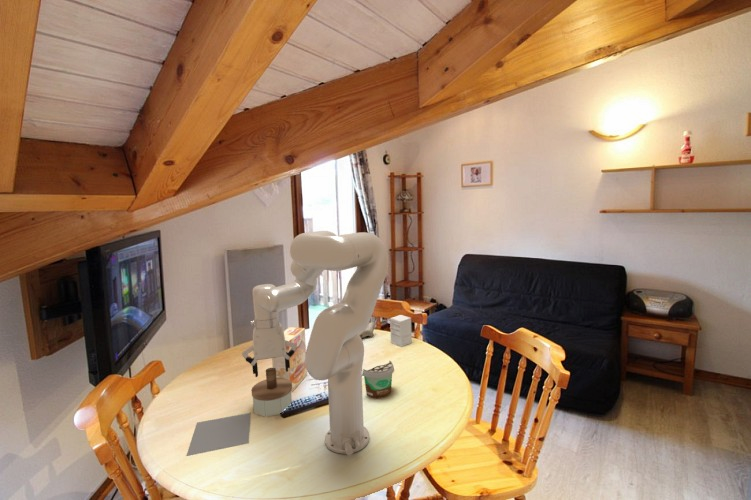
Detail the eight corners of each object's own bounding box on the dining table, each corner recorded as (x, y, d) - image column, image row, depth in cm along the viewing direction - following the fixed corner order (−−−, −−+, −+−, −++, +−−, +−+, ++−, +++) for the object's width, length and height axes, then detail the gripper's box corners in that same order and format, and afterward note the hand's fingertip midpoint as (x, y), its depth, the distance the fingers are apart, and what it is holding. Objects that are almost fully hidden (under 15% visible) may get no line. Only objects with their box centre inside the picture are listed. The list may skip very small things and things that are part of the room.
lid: (293, 396, 117) (292, 375, 116) (251, 403, 113) (249, 382, 112) (290, 378, 129) (289, 358, 128) (252, 384, 125) (250, 364, 124)
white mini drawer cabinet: (401, 339, 179) (400, 314, 177) (412, 343, 173) (411, 317, 172) (390, 343, 174) (389, 317, 173) (401, 347, 169) (400, 321, 167)
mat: (248, 445, 102) (248, 443, 102) (186, 457, 98) (186, 455, 98) (251, 414, 118) (250, 412, 118) (197, 424, 113) (196, 422, 113)
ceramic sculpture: (377, 321, 180) (349, 328, 174) (379, 338, 181) (351, 345, 175) (369, 315, 189) (342, 322, 184) (371, 331, 191) (344, 338, 185)
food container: (372, 404, 121) (371, 376, 120) (363, 396, 126) (362, 369, 125) (401, 392, 128) (401, 366, 127) (391, 385, 133) (390, 360, 132)
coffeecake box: (291, 394, 130) (287, 341, 127) (273, 392, 131) (269, 340, 129) (308, 374, 144) (305, 327, 142) (291, 373, 146) (288, 326, 143)
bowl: (292, 413, 118) (291, 395, 117) (253, 420, 114) (252, 402, 113) (290, 395, 129) (289, 379, 128) (255, 401, 126) (253, 384, 125)
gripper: (238, 329, 112) (243, 382, 114) (295, 322, 117) (299, 372, 118) (240, 323, 119) (245, 372, 121) (293, 315, 124) (297, 363, 126)
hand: (272, 372), depth 120 cm, fingers open, 9 cm apart
